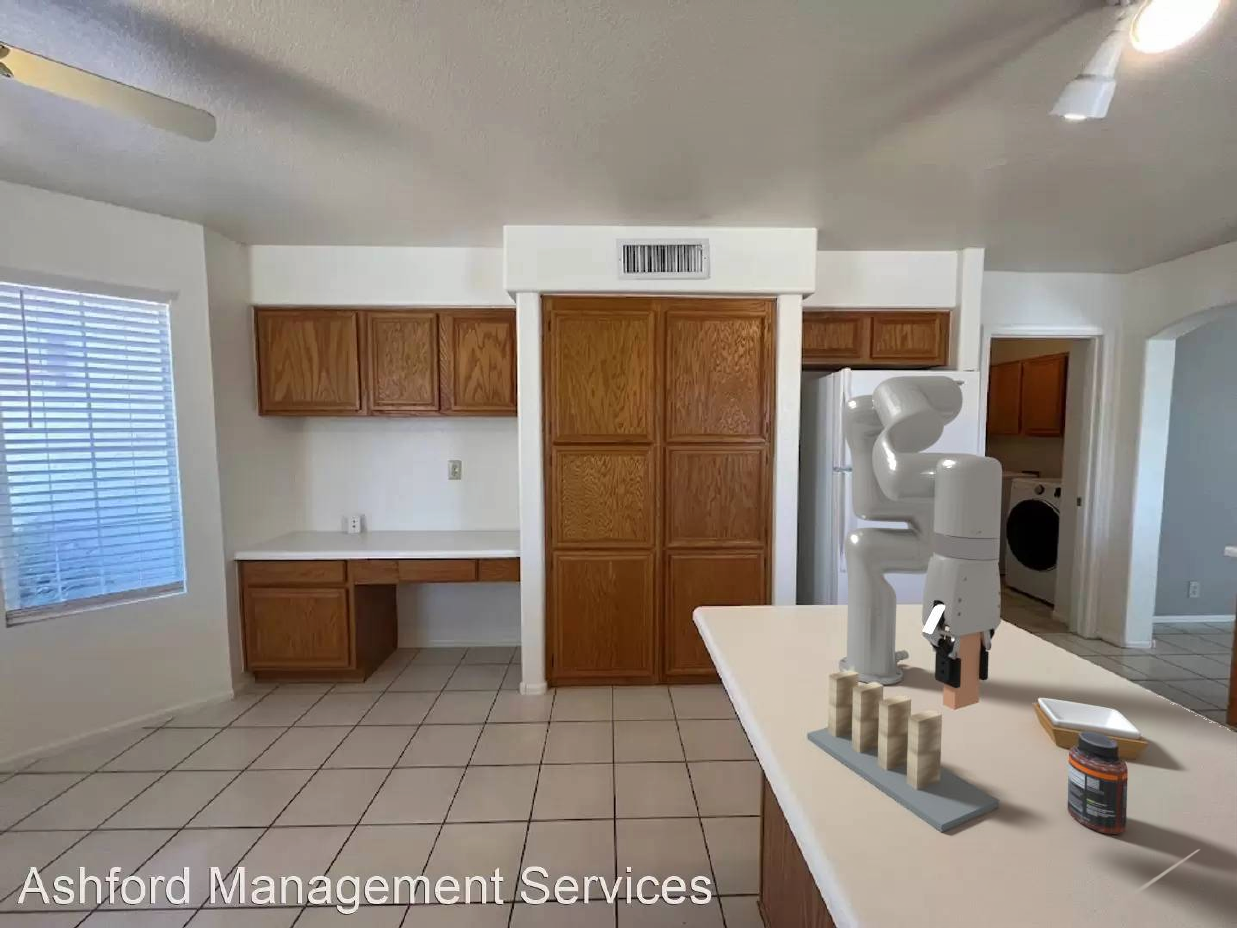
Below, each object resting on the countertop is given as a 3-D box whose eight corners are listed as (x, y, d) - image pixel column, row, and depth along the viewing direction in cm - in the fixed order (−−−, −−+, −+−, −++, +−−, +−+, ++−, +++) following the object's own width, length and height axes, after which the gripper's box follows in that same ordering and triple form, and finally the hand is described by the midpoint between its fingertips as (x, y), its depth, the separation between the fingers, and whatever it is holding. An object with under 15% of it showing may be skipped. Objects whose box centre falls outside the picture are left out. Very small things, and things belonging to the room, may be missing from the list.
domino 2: (873, 740, 90) (875, 681, 90) (881, 745, 89) (883, 685, 88) (851, 747, 88) (853, 687, 88) (859, 752, 87) (861, 691, 86)
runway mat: (858, 723, 97) (858, 718, 97) (998, 806, 75) (999, 799, 75) (807, 738, 92) (807, 733, 92) (941, 832, 71) (941, 824, 71)
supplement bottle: (1111, 811, 75) (1115, 731, 74) (1136, 841, 69) (1140, 755, 68) (1058, 801, 77) (1062, 723, 76) (1078, 830, 71) (1082, 746, 70)
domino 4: (929, 774, 81) (931, 709, 81) (939, 780, 80) (942, 714, 79) (906, 782, 79) (908, 716, 79) (916, 789, 78) (918, 721, 77)
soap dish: (1051, 750, 90) (1052, 720, 89) (1030, 721, 99) (1031, 694, 99) (1147, 766, 85) (1149, 735, 85) (1116, 734, 94) (1117, 706, 94)
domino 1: (849, 725, 95) (850, 669, 94) (857, 730, 93) (858, 673, 93) (828, 732, 93) (829, 674, 92) (835, 736, 91) (836, 678, 91)
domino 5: (966, 697, 76) (969, 626, 75) (978, 702, 74) (980, 630, 74) (943, 704, 74) (945, 631, 73) (954, 709, 72) (956, 635, 72)
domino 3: (900, 756, 86) (902, 694, 85) (909, 761, 84) (911, 699, 84) (877, 764, 84) (879, 700, 83) (886, 769, 82) (888, 705, 82)
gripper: (977, 538, 80) (973, 659, 81) (896, 547, 73) (893, 680, 74) (1033, 547, 73) (1029, 680, 74) (950, 558, 66) (946, 704, 67)
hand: (961, 678), depth 74 cm, fingers closed on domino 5, 4 cm apart
